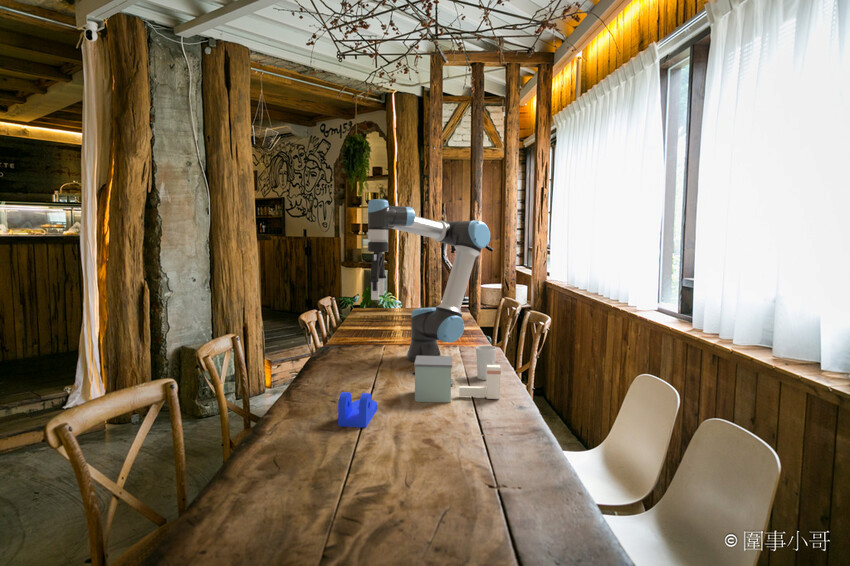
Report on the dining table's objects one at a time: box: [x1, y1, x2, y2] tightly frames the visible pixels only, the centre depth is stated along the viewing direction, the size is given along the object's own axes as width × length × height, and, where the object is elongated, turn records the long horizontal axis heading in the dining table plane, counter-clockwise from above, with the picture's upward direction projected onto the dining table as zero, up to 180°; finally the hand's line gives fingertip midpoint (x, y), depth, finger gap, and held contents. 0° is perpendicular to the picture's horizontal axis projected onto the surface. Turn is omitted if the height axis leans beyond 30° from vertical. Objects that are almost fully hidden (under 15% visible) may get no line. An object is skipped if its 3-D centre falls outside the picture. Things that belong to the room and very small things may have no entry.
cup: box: [475, 345, 497, 381], centre depth 187 cm, size 8×8×12 cm
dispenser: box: [413, 355, 454, 404], centre depth 164 cm, size 13×12×13 cm
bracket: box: [337, 391, 378, 429], centre depth 147 cm, size 18×8×9 cm, turn 173°
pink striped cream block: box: [458, 364, 502, 400], centre depth 164 cm, size 14×3×11 cm, turn 87°
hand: (377, 297), depth 181 cm, fingers open, 13 cm apart
